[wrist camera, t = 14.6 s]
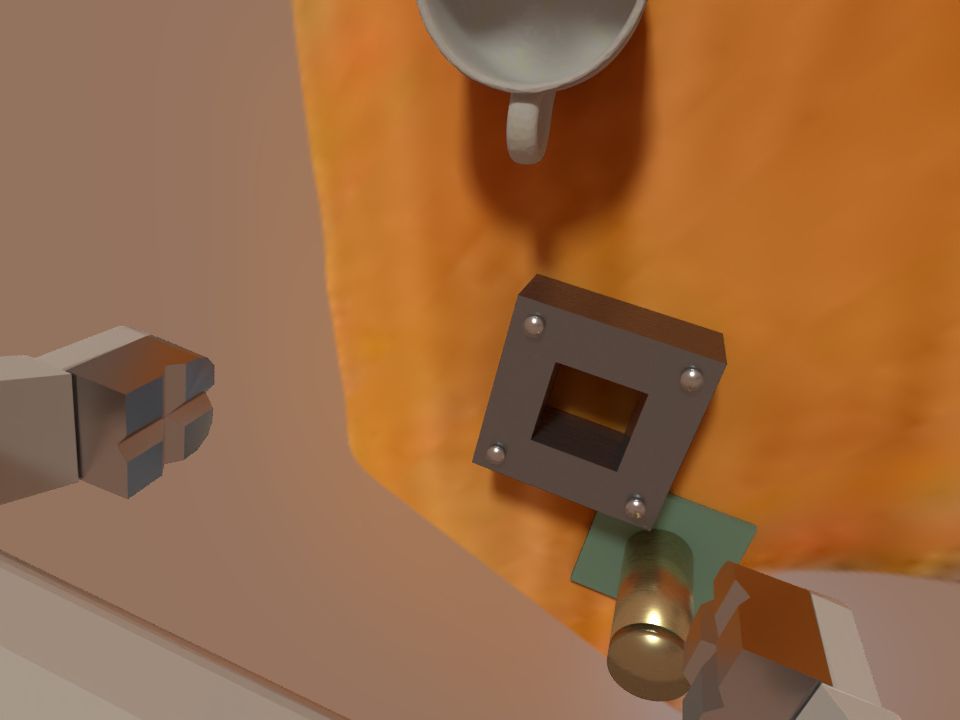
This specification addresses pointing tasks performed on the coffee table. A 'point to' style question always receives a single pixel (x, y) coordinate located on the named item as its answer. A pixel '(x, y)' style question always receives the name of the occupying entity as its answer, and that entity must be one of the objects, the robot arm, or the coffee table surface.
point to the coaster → (694, 523)
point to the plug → (653, 616)
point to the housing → (612, 356)
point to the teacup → (530, 52)
